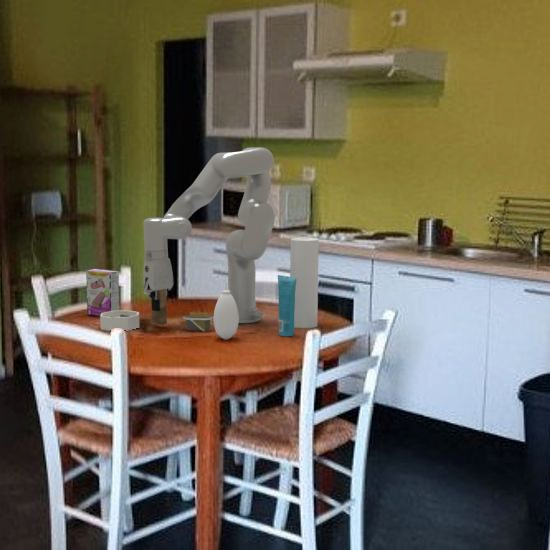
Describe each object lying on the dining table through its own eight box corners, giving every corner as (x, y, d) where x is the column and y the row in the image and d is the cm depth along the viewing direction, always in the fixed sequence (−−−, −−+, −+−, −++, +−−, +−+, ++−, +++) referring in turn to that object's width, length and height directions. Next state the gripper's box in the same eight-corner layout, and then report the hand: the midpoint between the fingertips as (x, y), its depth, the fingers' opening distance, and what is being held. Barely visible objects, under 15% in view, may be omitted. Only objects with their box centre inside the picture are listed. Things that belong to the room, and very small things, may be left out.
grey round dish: (147, 326, 272) (146, 313, 271) (119, 332, 262) (119, 319, 261) (120, 321, 279) (120, 309, 278) (92, 328, 269) (92, 314, 268)
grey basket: (222, 336, 259) (222, 316, 258) (167, 335, 260) (166, 315, 260) (227, 328, 271) (227, 309, 270) (174, 327, 272) (173, 308, 271)
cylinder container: (285, 323, 278) (285, 236, 273) (309, 321, 282) (310, 235, 277) (297, 329, 269) (298, 239, 265) (322, 326, 273) (323, 238, 269)
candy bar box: (86, 315, 290) (85, 270, 287) (95, 313, 294) (94, 268, 292) (111, 318, 284) (110, 272, 282) (120, 316, 289) (119, 270, 286)
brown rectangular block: (166, 323, 270) (165, 288, 268) (161, 324, 268) (160, 289, 266) (156, 321, 273) (155, 286, 271) (151, 323, 271) (150, 287, 269)
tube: (300, 335, 260) (300, 276, 258) (292, 337, 256) (292, 278, 253) (280, 332, 264) (280, 274, 261) (272, 335, 260) (272, 276, 257)
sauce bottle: (210, 340, 252) (210, 283, 249) (218, 335, 259) (218, 279, 256) (234, 342, 250) (234, 284, 247) (241, 337, 257) (241, 281, 254)
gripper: (147, 259, 258) (150, 315, 261) (181, 253, 271) (183, 306, 274) (130, 257, 263) (133, 313, 265) (164, 251, 275) (167, 304, 278)
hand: (159, 309), depth 270 cm, fingers closed on brown rectangular block, 2 cm apart
